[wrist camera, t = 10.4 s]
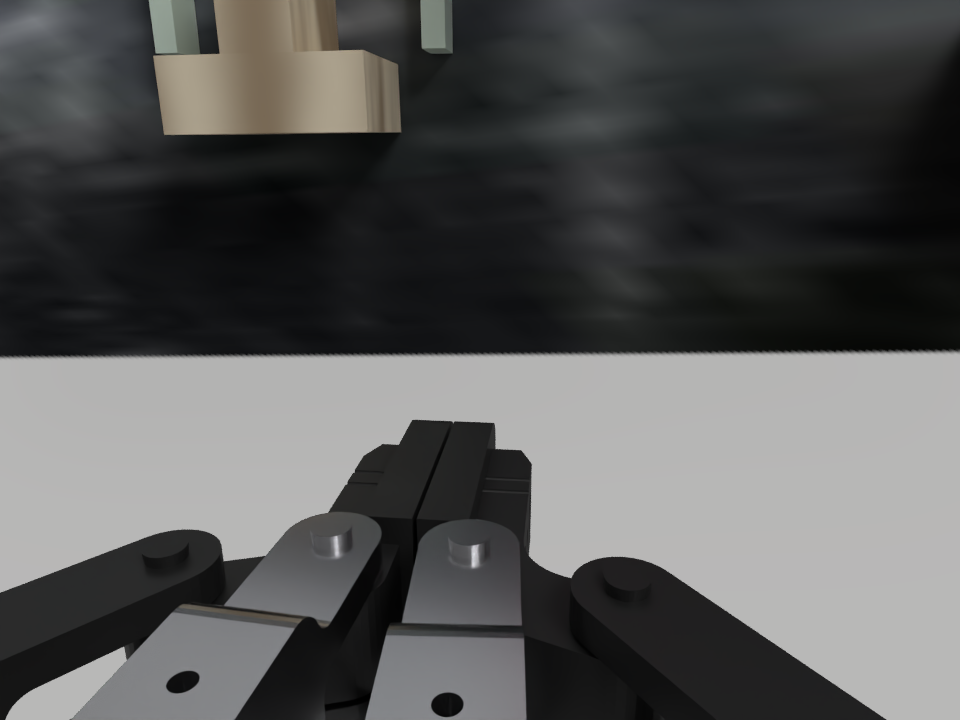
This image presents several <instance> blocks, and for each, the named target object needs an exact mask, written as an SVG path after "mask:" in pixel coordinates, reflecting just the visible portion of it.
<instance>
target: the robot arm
mask: <svg viewBox="0 0 960 720" xmlns="http://www.w3.org/2000/svg"><path fill="white" fill-rule="evenodd" d="M531 466H532V464H531V462H530V461H529V460H528V458H527V457H526V456H525V455H524V453H523V452H522V451H521V450H501V449H495V425H494V423H480V422H454V424H453V422H451V421H429V420H412V422H411V423H410V425H409V427H408V429H407V431H406V433H405V435H404V436H403V438H402V440H401V442H400V444H399V445H389V444H382V445H381V446H379V447H377V448H376V449H374V450H373V451H371V452H369V453H368V454H366V455H365V456H363V458H362V460H361V461H360V463H359V464H358V466H357V468H356V469H355V473H353V474H352V476H351V477H350V479H349V480H348V484H347V485H345V487H344V489H343V490H342V491H341V493H340V495H339V496H338V498H337V499H336V501H335V503H334V504H333V506H332V508H331V509H330V511H329V512H328V513H325V514H320V515H315V516H312V517H309V518H307V519H304V520H302V521H300V522H298V523H297V524H295V525H293V526H292V527H291V528H290V529H288V530H287V531H286V532H285V534H284V535H283V536H282V537H281V538H280V540H279V541H278V542H277V543H276V544H275V545H274V547H273V548H272V549H271V550H270V551H269V553H268V554H267V555H266V556H262V557H255V558H247V559H239V560H232V561H224V562H223V554H222V547H221V543H220V541H219V539H218V538H217V537H215V536H214V535H212V534H210V533H207V532H204V531H199V530H174V531H168V532H163V533H159V534H155V535H152V536H149V537H146V538H144V539H141V540H139V541H136V542H133V543H131V544H128V545H125V546H122V547H120V548H118V549H115V550H112V551H109V552H107V553H104V554H101V555H99V556H96V557H94V558H91V559H88V560H86V561H83V562H81V563H78V564H75V565H72V566H70V567H68V568H64V569H62V570H59V571H57V572H54V573H51V574H49V575H46V576H43V577H41V578H38V579H36V580H33V581H30V582H28V583H25V584H22V585H20V586H17V587H14V588H12V589H9V590H7V591H4V592H1V593H0V720H5V719H6V716H7V714H8V712H9V711H10V709H11V708H12V706H13V705H14V704H15V703H16V702H17V701H18V700H19V699H20V698H21V697H22V696H23V695H25V694H26V693H28V692H29V691H31V690H33V689H35V688H37V687H39V686H41V685H43V684H45V683H47V682H49V681H51V680H54V679H56V678H58V677H60V676H62V675H64V674H66V673H69V672H71V671H73V670H75V669H77V668H79V667H81V666H83V665H86V664H88V663H90V662H92V661H94V660H96V659H98V658H100V657H102V656H105V655H106V654H109V653H111V652H113V651H115V650H117V649H119V648H121V647H125V653H126V658H127V661H126V662H125V663H124V664H123V665H122V666H121V667H120V668H119V669H118V670H117V672H116V673H115V674H114V675H113V676H112V677H111V678H110V679H109V680H108V681H107V682H106V683H105V684H104V685H103V686H102V687H101V689H100V690H99V691H98V692H97V693H96V694H95V695H94V696H93V697H92V698H91V699H90V700H89V701H88V702H87V703H86V704H85V706H84V707H83V708H82V709H81V710H80V711H79V712H78V713H77V714H76V715H75V716H74V717H73V718H72V719H70V720H886V719H884V718H883V717H881V716H880V715H879V714H877V713H876V712H874V711H873V710H871V709H870V708H868V707H867V706H865V705H864V704H862V703H861V702H859V701H858V700H856V699H855V698H853V697H852V696H851V695H849V694H848V693H846V692H845V691H843V690H842V689H840V688H839V687H837V686H836V685H834V684H833V683H831V682H830V681H828V680H827V679H825V678H824V677H822V676H821V675H819V674H818V673H816V672H815V671H814V670H812V669H810V668H809V667H808V666H806V665H805V664H803V663H802V662H800V661H799V660H797V659H796V658H794V657H793V656H791V655H790V654H788V653H787V652H786V651H784V650H783V649H781V648H780V647H778V646H777V645H775V644H774V643H772V642H771V641H769V640H768V639H766V638H765V637H763V636H762V635H760V634H759V633H758V632H756V631H755V630H753V629H752V628H750V627H749V626H747V625H746V624H744V623H743V622H741V621H740V620H738V619H737V618H735V617H734V616H732V615H731V614H729V613H728V612H727V611H725V610H723V609H722V608H721V607H719V606H718V605H716V604H715V603H713V602H712V601H710V600H709V599H707V598H706V597H704V596H703V595H701V594H700V593H698V592H697V591H695V590H694V589H692V588H691V587H690V586H688V585H687V584H685V583H684V582H682V581H681V580H679V579H678V578H676V577H675V576H673V575H672V574H670V573H669V572H667V571H666V570H664V569H662V568H661V567H659V566H656V565H654V564H652V563H649V562H646V561H643V560H639V559H634V558H627V557H606V558H601V559H596V560H593V561H590V562H588V563H586V564H584V565H582V566H581V567H580V568H578V569H577V570H576V571H575V573H574V575H573V576H572V578H568V577H564V576H561V575H558V574H555V573H553V572H550V571H548V570H546V569H544V568H543V567H541V566H539V565H538V564H537V563H535V562H534V561H533V560H532V559H531V558H530V557H529V545H530V519H531V518H530V517H531V469H532V468H531Z"/></svg>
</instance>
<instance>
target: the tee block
mask: <svg viewBox="0 0 960 720" xmlns="http://www.w3.org/2000/svg"><path fill="white" fill-rule="evenodd" d="M214 7H215V16H216V25H217V34H218V42H219V51H220V54H199V55H163V56H153V58H154V65H155V72H156V79H157V86H158V93H159V100H160V107H161V115H162V122H163V129H164V135H246V134H316V133H387V132H401V121H400V98H399V76H398V64H396V63H393V62H391V61H388V60H386V59H384V58H381V57H379V56H376V55H374V54H372V53H369V52H367V51H364V50H343V51H339V47H338V32H337V17H336V2H335V0H214Z"/></svg>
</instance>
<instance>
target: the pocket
mask: <svg viewBox="0 0 960 720" xmlns="http://www.w3.org/2000/svg"><path fill="white" fill-rule="evenodd" d="M149 5H150V13H151V21H152V28H153V36H154V43H155V51H156V53H157V54H162V55H199V54H200V47H199V39H198V30H197V21H196V12H195V4H194V0H149ZM421 38H422V49H424V50H425V51H427V52H429V53H430V54H449V53H453V29H452V0H421Z"/></svg>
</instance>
